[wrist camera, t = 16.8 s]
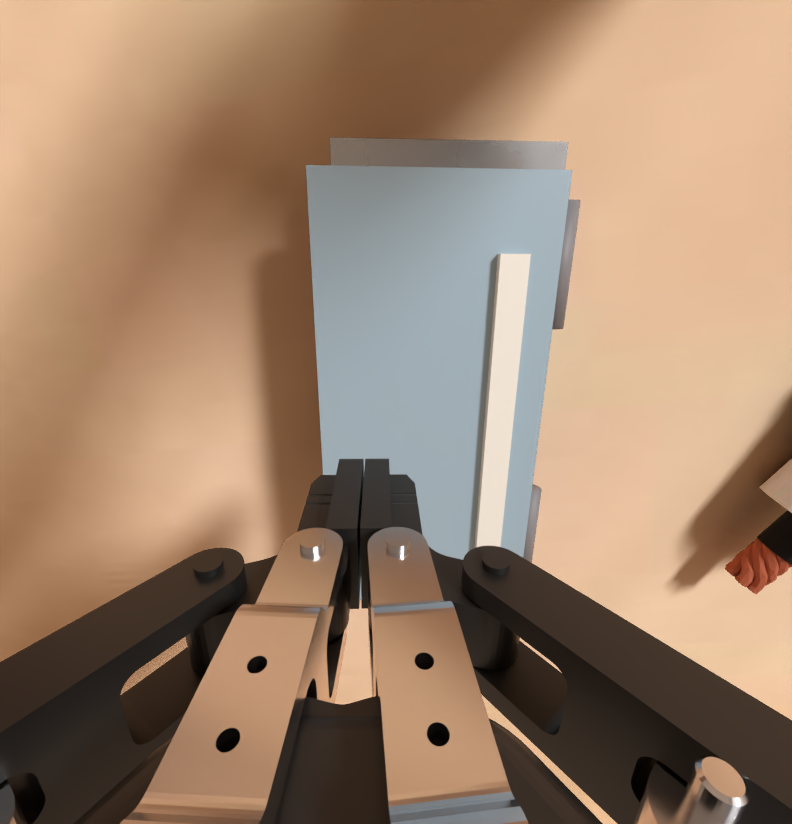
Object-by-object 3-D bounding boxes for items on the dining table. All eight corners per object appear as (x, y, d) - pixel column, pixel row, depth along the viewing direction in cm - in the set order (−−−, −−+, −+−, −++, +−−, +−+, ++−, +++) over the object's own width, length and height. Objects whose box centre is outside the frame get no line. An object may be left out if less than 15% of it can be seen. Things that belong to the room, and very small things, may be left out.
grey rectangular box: (339, 162, 21) (329, 137, 17) (530, 165, 21) (568, 141, 17) (351, 534, 28) (347, 581, 24) (494, 531, 28) (515, 578, 24)
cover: (310, 171, 17) (304, 162, 15) (575, 176, 17) (595, 168, 16) (331, 584, 23) (329, 606, 22) (524, 577, 24) (534, 599, 22)
